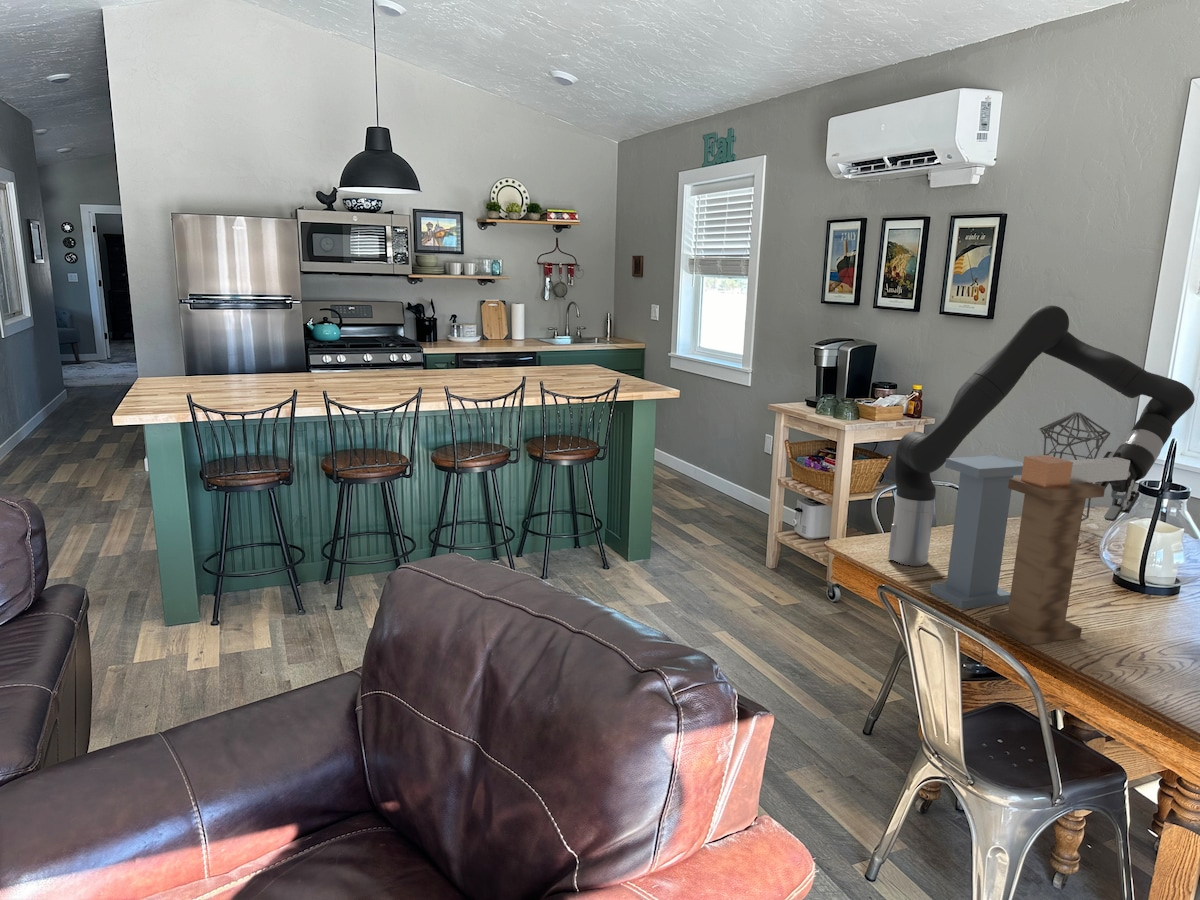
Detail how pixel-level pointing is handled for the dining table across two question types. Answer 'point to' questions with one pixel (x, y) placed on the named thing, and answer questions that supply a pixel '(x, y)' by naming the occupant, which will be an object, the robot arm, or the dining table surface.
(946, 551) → the dining table surface
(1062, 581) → the walnut post
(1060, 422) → the geometric lantern
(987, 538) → the post
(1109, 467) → the bar
